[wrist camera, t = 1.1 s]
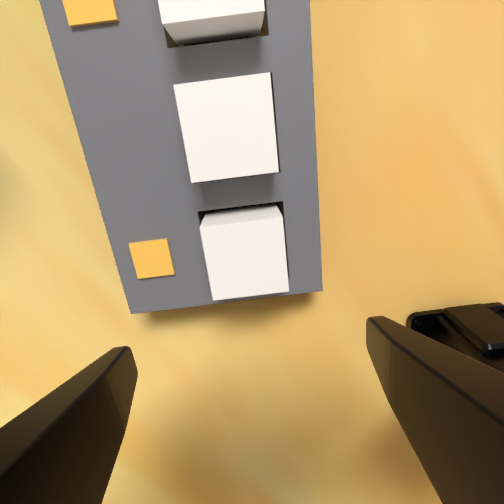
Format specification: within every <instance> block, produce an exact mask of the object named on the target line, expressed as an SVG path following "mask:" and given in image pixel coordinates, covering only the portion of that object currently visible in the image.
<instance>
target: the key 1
mask: <svg viewBox="0 0 504 504" xmlns="http://www.w3.org/2000/svg"><path fill="white" fill-rule="evenodd" d="M158 4H159V10H160V15H161V21H162V25H163V26H164V27H165V29H166V30H167V32H168V33H169V35H170V36H171V37H172V39H173V40H174V42H175V43H176V44H177V46H180V45H187V44H195V43H203V42H210V41H218V40H226V39H233V38H241V37H249V36H257V35H260V33H261V28H262V23H263V17H264V12H265V7H264V0H158Z"/></svg>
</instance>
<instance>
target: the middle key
mask: <svg viewBox="0 0 504 504" xmlns="http://www.w3.org/2000/svg"><path fill="white" fill-rule="evenodd" d="M173 86H174V91H175V97H176V102H177V108H178V113H179V119H180V124H181V130H182V135H183V140H184V146H185V151H186V157H187V162H188V168H189V173H190V179H191V183H195V182H203V181H211V180H219V179H227V178H235V177H242V176H250V175H258V174H266V173H274V172H279V169H278V157H277V146H276V134H275V122H274V111H273V99H272V88H271V76H270V72H268V73H261V74H253V75H245V76H237V77H230V78H222V79H214V80H206V81H198V82H191V83H183V84H175V85H173Z"/></svg>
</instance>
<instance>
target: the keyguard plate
mask: <svg viewBox="0 0 504 504" xmlns="http://www.w3.org/2000/svg"><path fill="white" fill-rule="evenodd" d="M39 1H40V5H41V8H42V11H43V15H44V18H45V22H46V25H47V29H48V32H49V35H50V39H51V42H52V46H53V49H54V52H55V56H56V59H57V63H58V66H59V70H60V73H61V76H62V80H63V83H64V87H65V90H66V94H67V97H68V100H69V104H70V107H71V111H72V114H73V117H74V121H75V124H76V128H77V131H78V135H79V138H80V141H81V145H82V148H83V152H84V155H85V159H86V162H87V165H88V169H89V172H90V176H91V179H92V182H93V186H94V189H95V193H96V196H97V200H98V203H99V206H100V210H101V213H102V217H103V220H104V224H105V227H106V230H107V234H108V237H109V241H110V244H111V247H112V251H113V254H114V258H115V261H116V265H117V268H118V271H119V275H120V278H121V282H122V285H123V289H124V292H125V295H126V299H127V302H128V306H129V309H130V312H131V314H136V313H145V312H153V311H161V310H169V309H178V308H186V307H194V306H202V305H210V304H219V303H227V302H235V301H243V300H252V299H260V298H268V297H276V296H284V295H293V294H301V293H309V292H317V291H323V289H322V267H321V244H320V222H319V200H318V177H317V155H316V133H315V111H314V88H313V66H312V44H311V21H310V0H264V7H265V12H264V17H263V34H264V36H260V37H253V38H245V39H237V40H230V41H222V42H214V43H207V44H199V45H191V46H183V47H176V45H175V42H174V40H173V39H172V37H171V36H170V35H169V33H168V32H167V30H166V29H165V27H164V26H163V25H162V21H161V15H160V10H159V4H158V0H39ZM268 72H270V76H271V88H272V99H273V111H274V122H275V134H276V146H277V157H278V169H279V172H274V173H266V174H258V175H250V176H242V177H235V178H227V179H219V180H211V181H203V182H195V183H191V179H190V173H189V168H188V162H187V157H186V151H185V146H184V140H183V135H182V130H181V124H180V119H179V113H178V108H177V102H176V97H175V91H174V86H173V85H175V84H183V83H191V82H198V81H206V80H214V79H222V78H230V77H237V76H245V75H253V74H261V73H268ZM271 202H279V211H280V213H281V215H282V217H283V226H284V238H285V249H286V261H287V272H288V284H289V291H288V292H280V293H272V294H264V295H255V296H247V297H239V298H231V299H223V300H214V301H213V298H212V293H211V287H210V282H209V276H208V271H207V266H206V260H205V255H204V249H203V244H202V238H201V233H200V225H201V223H202V221H203V218H204V216H205V211H207V210H215V209H223V208H231V207H239V206H247V205H255V204H263V203H271Z"/></svg>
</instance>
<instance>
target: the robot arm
mask: <svg viewBox="0 0 504 504" xmlns="http://www.w3.org/2000/svg"><path fill="white" fill-rule="evenodd" d="M499 309H500V310H499ZM498 310H499V311H498ZM497 311H498V312H497ZM417 319H419V320H418V321H416V322H415V320H417ZM366 345H367V349H368V352H369V355H370V357H371V360H372V362H373V365H374V367H375V370H376V372H377V375H378V377H379V380H380V382H381V385H382V387H383V390H384V392H385V395H386V397H387V399H388V402H389V404H390V406H391V408H392V410H393V411H394V413H395V415H396V417H397V419H398V421H399V423H400V425H401V426H402V428H403V430H404V432H405V434H406V436H407V438H408V440H409V441H410V443H411V445H412V447H413V449H414V451H415V453H416V455H417V457H418V458H419V460H420V462H421V464H422V466H423V468H424V470H425V472H426V473H427V475H428V477H429V479H430V481H431V483H432V485H433V487H434V488H435V490H436V492H437V494H438V496H439V498H440V500H441V502H442V503H443V504H504V305H503V304H502V303H498V302H497V303H489V304H474V305H466V306H457V307H449V308H445V309H439V310H431V311H422V312H415V313H412V314H411V315H410V316H409V318H408V328H407V327H405V326H403V325H401V324H399V323H397V322H395V321H393V320H390V319H388V318H386V317H384V316H375V317H369V318H368V319H367V322H366ZM137 376H138V372H137V367H136V364H135V360H134V357H133V354H132V351H131V349H130V347H128V346H122V347H115V348H113V349H111V350H110V351H108V352H107V353H105V354H104V355H103V356H101V357H100V358H98V359H97V360H96V361H94V362H93V363H91V364H90V365H89V366H87V367H86V368H84V369H83V370H82V371H80V372H79V373H77V374H76V375H74V376H73V377H72V378H70V379H69V380H67V381H66V382H65V383H63V384H62V385H60V386H59V387H58V388H56V389H55V390H53V391H52V392H51V393H49V394H48V395H46V396H45V397H43V398H42V399H41V400H39V401H38V402H36V403H35V404H34V405H32V406H31V407H29V408H28V409H27V410H25V411H24V412H22V413H21V414H19V415H18V416H17V417H15V418H14V419H12V420H11V421H10V422H8V423H7V424H5V425H4V426H3V427H1V428H0V504H102V501H103V498H104V495H105V491H106V488H107V485H108V482H109V479H110V476H111V473H112V470H113V467H114V464H115V461H116V458H117V455H118V452H119V449H120V446H121V443H122V440H123V437H124V434H125V431H126V427H127V423H128V418H129V414H130V409H131V405H132V400H133V395H134V391H135V386H136V382H137Z"/></svg>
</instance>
